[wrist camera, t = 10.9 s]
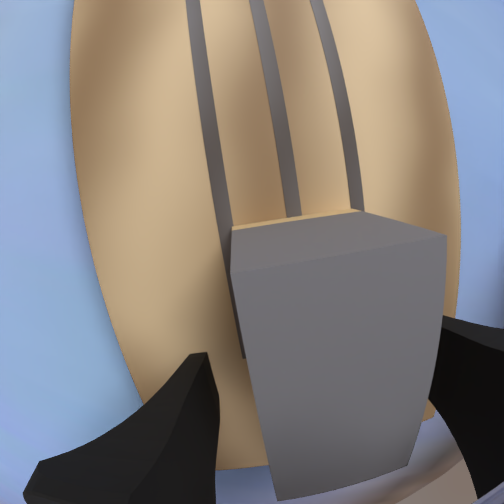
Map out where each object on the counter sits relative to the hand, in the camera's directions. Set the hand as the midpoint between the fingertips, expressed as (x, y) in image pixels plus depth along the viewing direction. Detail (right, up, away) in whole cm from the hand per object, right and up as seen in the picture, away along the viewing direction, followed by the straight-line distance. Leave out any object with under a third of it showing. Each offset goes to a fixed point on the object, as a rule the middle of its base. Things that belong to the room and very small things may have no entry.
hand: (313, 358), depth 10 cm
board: (-1, +6, +1) cm, 6 cm away
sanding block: (0, +1, 0) cm, 2 cm away
